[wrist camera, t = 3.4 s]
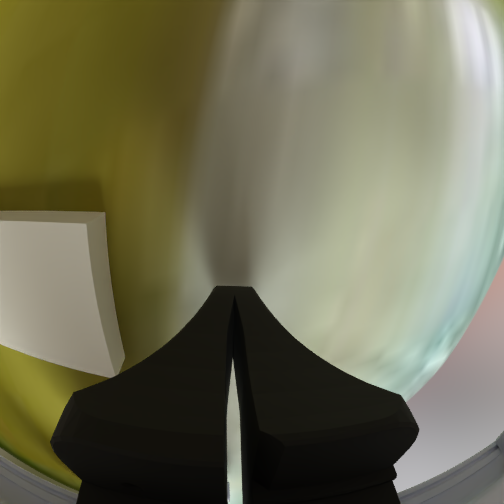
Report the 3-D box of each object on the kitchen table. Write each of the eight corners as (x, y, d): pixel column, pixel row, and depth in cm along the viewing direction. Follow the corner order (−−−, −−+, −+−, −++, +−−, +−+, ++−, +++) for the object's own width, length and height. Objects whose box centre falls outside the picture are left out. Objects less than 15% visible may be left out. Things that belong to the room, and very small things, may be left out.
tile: (110, 209, 10) (86, 223, 8) (128, 351, 12) (116, 379, 10) (-44, 209, 8) (-65, 219, 7) (-19, 312, 11) (-35, 327, 9)
